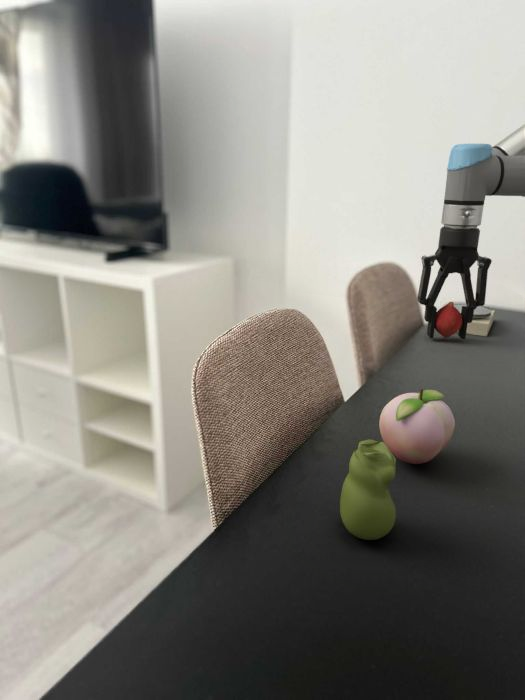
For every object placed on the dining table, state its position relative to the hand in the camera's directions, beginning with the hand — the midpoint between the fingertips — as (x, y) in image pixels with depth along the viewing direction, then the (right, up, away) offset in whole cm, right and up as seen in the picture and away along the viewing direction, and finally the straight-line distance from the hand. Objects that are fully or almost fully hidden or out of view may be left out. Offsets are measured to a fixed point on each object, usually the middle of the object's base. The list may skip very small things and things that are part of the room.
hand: (445, 336), depth 110 cm
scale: (+10, +3, +12) cm, 16 cm away
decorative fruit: (-21, -17, -47) cm, 54 cm away
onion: (0, 0, 0) cm, 0 cm away
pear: (-29, -21, -59) cm, 69 cm away
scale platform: (+9, +6, +10) cm, 14 cm away
